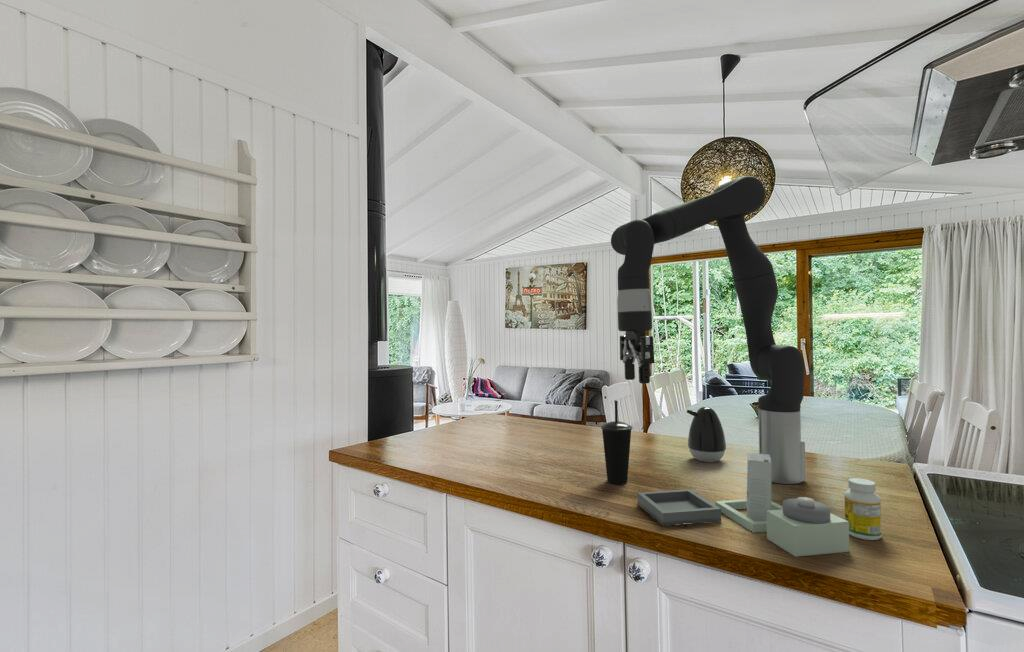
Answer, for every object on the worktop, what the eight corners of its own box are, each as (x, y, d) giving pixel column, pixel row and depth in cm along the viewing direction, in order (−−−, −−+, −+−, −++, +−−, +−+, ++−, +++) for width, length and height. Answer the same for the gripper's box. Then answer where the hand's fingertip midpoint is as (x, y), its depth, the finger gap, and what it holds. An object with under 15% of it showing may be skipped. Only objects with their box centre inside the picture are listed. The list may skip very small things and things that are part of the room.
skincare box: (746, 510, 100) (745, 451, 100) (771, 514, 98) (769, 453, 99) (747, 521, 95) (745, 459, 95) (773, 525, 93) (771, 461, 93)
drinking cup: (627, 488, 116) (625, 403, 116) (597, 483, 120) (595, 401, 120) (637, 479, 122) (636, 399, 122) (608, 475, 126) (607, 398, 126)
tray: (689, 500, 107) (689, 489, 107) (721, 521, 95) (721, 508, 95) (637, 504, 105) (637, 492, 105) (663, 526, 93) (663, 513, 93)
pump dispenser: (683, 455, 145) (682, 404, 145) (720, 455, 144) (719, 404, 144) (691, 464, 135) (690, 409, 135) (731, 465, 134) (730, 409, 134)
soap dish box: (765, 504, 103) (764, 468, 104) (852, 551, 82) (851, 504, 82) (715, 508, 102) (714, 471, 102) (791, 556, 80) (790, 509, 80)
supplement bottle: (880, 543, 84) (879, 488, 84) (843, 535, 88) (842, 482, 88) (882, 533, 88) (881, 480, 88) (846, 526, 92) (845, 475, 92)
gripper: (663, 308, 104) (666, 384, 104) (638, 310, 118) (640, 377, 118) (630, 309, 103) (633, 385, 103) (608, 311, 117) (610, 379, 117)
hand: (636, 381), depth 111 cm, fingers open, 8 cm apart
